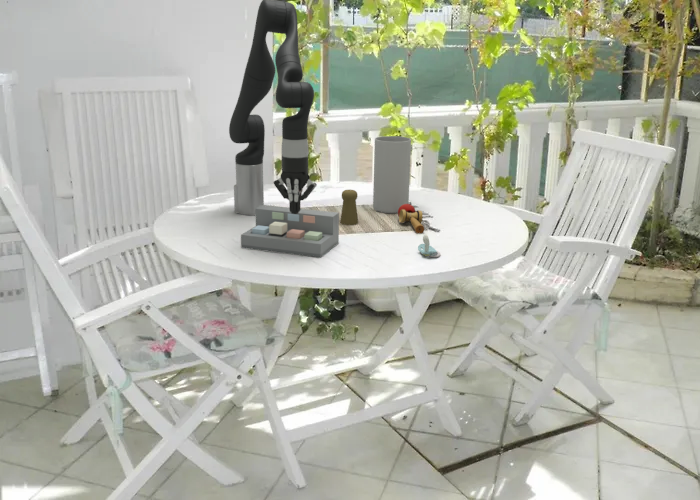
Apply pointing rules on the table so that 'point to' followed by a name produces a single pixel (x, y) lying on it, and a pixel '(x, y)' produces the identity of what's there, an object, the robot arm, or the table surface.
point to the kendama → (411, 217)
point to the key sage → (313, 236)
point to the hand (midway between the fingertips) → (295, 213)
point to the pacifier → (427, 248)
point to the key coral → (295, 233)
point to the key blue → (260, 230)
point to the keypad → (300, 221)
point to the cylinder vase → (391, 173)
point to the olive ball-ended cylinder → (349, 208)
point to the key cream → (278, 229)
